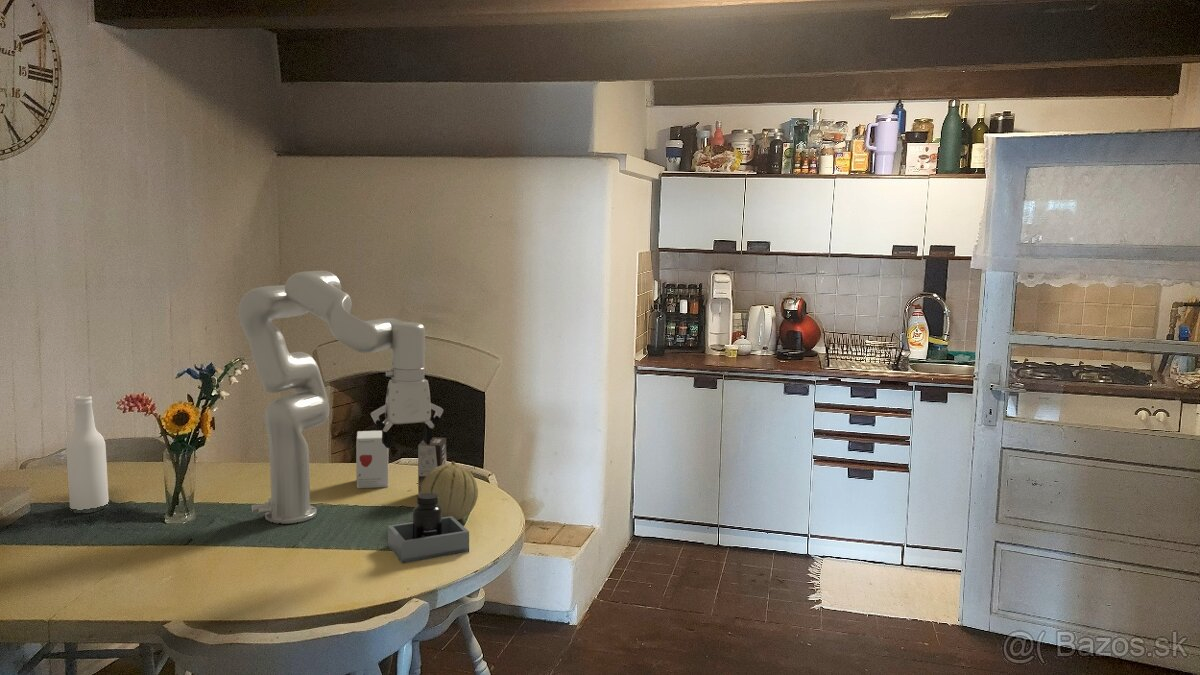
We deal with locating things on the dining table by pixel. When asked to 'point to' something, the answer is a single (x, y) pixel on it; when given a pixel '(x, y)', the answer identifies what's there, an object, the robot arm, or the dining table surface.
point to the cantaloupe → (452, 489)
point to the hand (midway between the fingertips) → (407, 444)
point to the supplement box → (371, 460)
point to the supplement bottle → (427, 516)
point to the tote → (428, 541)
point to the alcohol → (86, 460)
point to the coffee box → (430, 457)
